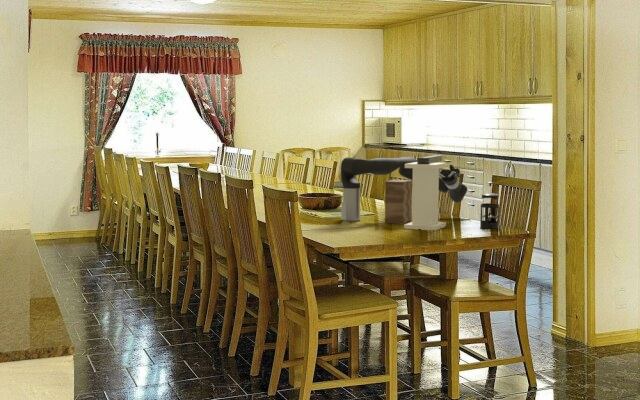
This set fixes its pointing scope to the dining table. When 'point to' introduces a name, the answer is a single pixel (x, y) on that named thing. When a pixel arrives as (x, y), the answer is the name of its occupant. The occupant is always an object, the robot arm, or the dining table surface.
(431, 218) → the tall stand
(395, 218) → the low block
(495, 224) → the french press
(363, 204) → the dining table surface
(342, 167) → the robot arm
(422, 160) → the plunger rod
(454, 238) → the dining table surface
